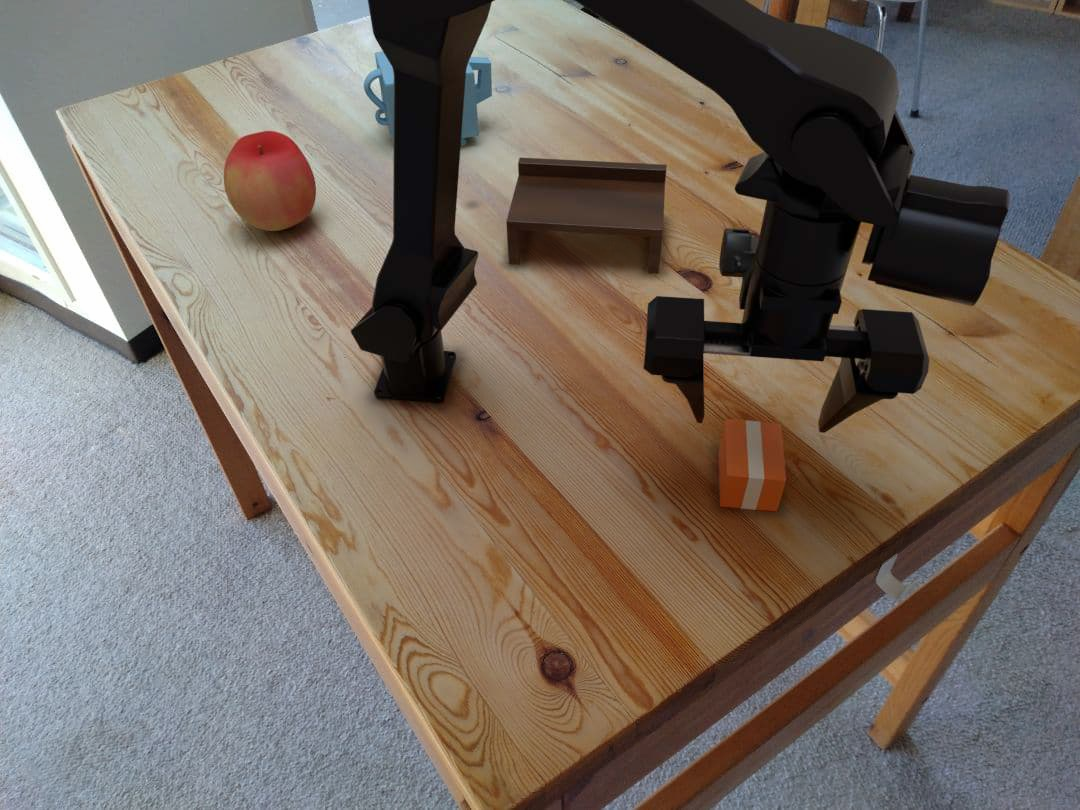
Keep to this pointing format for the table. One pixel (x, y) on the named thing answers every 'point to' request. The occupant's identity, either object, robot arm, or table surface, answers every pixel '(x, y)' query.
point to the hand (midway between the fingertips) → (759, 423)
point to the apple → (269, 181)
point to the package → (751, 465)
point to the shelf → (588, 202)
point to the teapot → (471, 95)
